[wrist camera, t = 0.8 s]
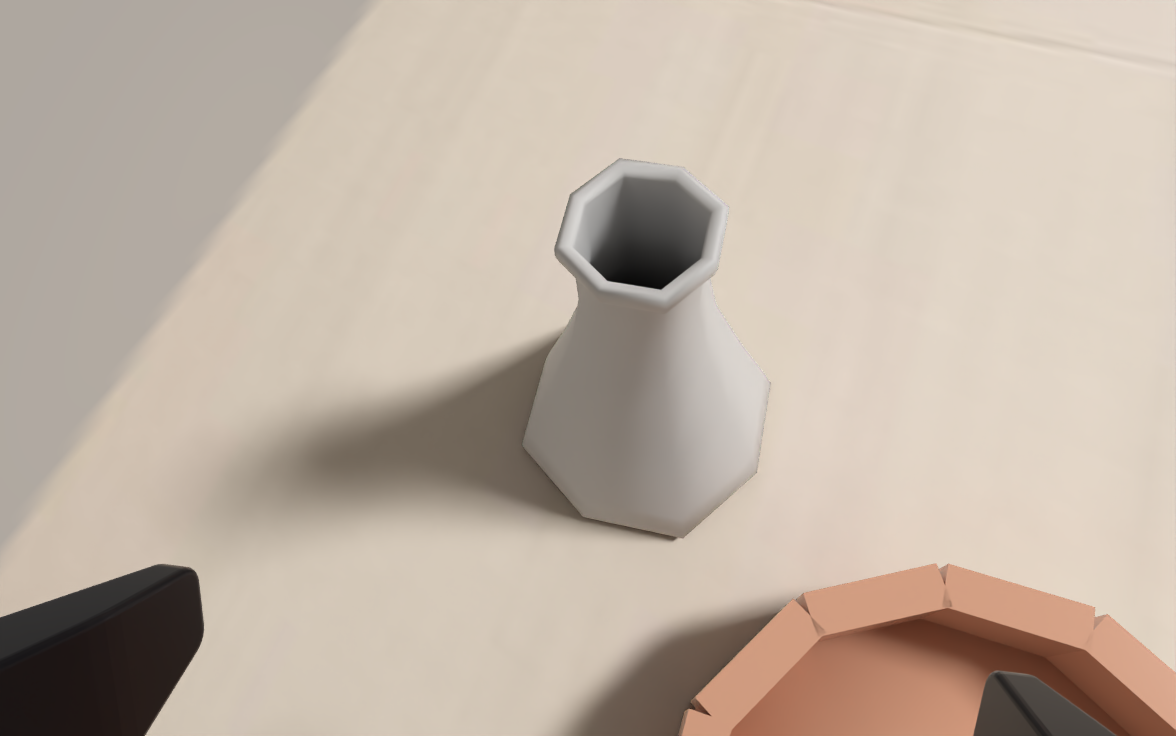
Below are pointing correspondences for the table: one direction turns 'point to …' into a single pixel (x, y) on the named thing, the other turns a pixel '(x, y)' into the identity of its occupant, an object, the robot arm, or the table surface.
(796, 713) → the bowl
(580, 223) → the flask
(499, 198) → the table surface
